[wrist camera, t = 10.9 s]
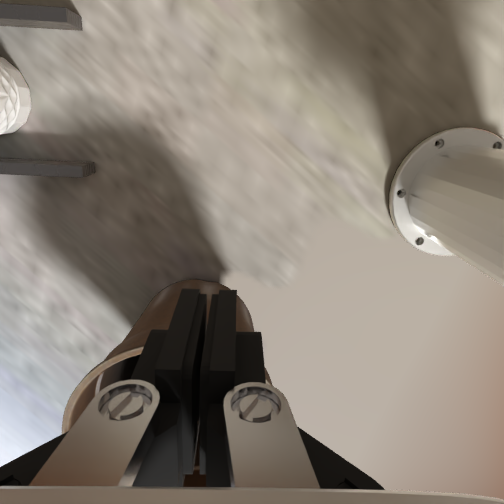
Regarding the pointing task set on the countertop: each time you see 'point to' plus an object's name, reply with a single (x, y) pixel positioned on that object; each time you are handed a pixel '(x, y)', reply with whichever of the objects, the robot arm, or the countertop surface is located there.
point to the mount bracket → (50, 20)
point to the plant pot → (129, 351)
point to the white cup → (13, 98)
